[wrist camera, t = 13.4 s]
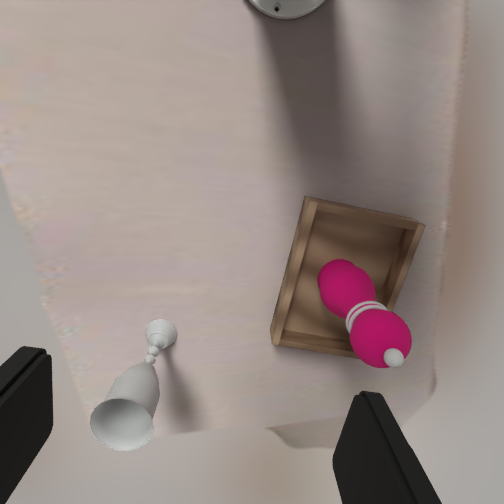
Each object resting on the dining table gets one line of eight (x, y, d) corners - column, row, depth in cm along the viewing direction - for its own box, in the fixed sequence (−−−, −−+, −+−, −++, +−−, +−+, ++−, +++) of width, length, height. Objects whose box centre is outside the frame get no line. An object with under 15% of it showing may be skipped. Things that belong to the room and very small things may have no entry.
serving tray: (304, 195, 46) (310, 200, 42) (411, 218, 47) (425, 225, 44) (269, 329, 53) (272, 344, 49) (363, 345, 54) (372, 361, 50)
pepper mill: (371, 277, 49) (452, 361, 30) (335, 308, 51) (391, 407, 32) (339, 245, 47) (405, 314, 28) (303, 279, 49) (342, 365, 30)
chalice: (181, 353, 54) (153, 452, 37) (140, 351, 53) (91, 449, 36) (183, 314, 52) (153, 400, 34) (139, 311, 51) (87, 396, 34)
